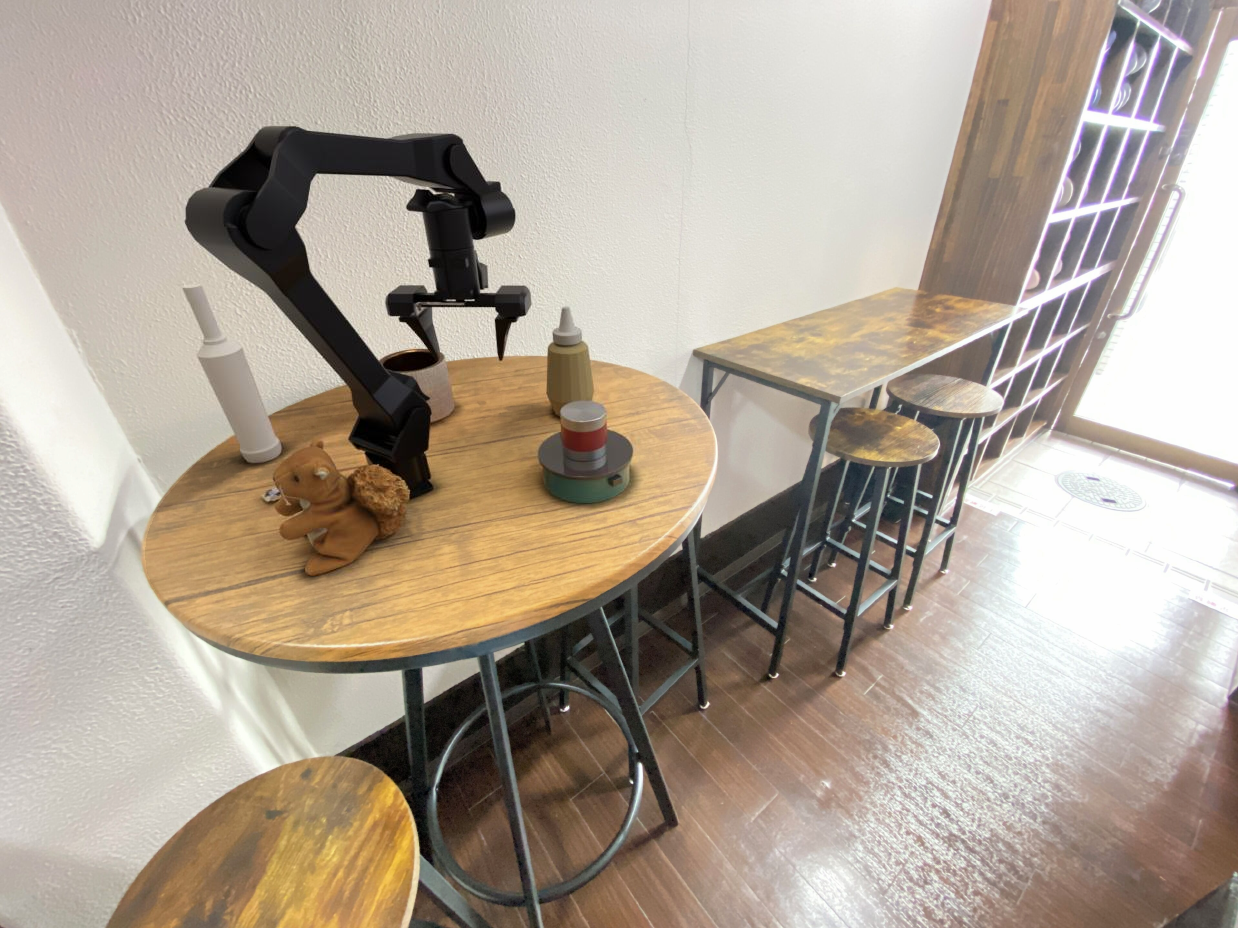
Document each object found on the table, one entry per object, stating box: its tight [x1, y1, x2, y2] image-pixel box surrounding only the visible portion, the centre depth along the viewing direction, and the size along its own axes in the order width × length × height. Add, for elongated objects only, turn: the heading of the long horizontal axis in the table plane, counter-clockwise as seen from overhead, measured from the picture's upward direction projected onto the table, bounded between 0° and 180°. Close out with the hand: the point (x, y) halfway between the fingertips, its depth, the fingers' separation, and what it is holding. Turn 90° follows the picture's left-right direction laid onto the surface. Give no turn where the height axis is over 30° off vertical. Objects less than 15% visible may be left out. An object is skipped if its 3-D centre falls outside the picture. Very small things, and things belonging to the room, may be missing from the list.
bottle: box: [181, 283, 283, 464], centre depth 74 cm, size 5×5×25 cm
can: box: [560, 400, 608, 461], centre depth 71 cm, size 6×6×6 cm
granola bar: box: [260, 486, 282, 502], centre depth 72 cm, size 7×2×1 cm, turn 140°
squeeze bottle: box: [545, 306, 595, 418], centre depth 87 cm, size 8×8×18 cm
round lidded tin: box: [537, 428, 634, 504], centre depth 74 cm, size 13×14×5 cm
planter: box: [378, 348, 455, 425], centre depth 89 cm, size 11×11×10 cm
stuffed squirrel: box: [272, 438, 410, 577], centre depth 61 cm, size 10×14×13 cm
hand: (469, 359), depth 78 cm, fingers open, 9 cm apart
